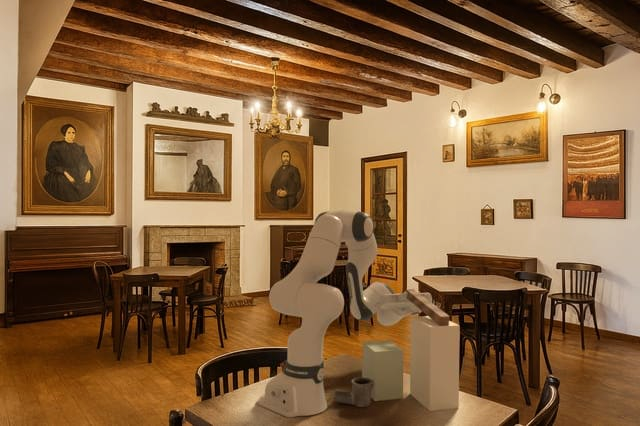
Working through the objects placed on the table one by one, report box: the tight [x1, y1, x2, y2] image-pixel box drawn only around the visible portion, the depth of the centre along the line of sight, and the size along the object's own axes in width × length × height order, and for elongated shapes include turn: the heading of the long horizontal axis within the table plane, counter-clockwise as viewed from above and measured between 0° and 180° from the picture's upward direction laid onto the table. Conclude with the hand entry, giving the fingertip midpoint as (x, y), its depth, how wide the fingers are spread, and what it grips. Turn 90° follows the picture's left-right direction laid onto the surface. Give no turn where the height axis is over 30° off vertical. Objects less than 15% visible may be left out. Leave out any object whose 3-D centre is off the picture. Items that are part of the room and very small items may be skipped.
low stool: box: [361, 339, 404, 402], centre depth 157 cm, size 12×10×16 cm
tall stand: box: [409, 315, 461, 412], centre depth 150 cm, size 14×10×26 cm
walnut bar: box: [405, 288, 450, 326], centre depth 156 cm, size 26×3×3 cm, turn 14°
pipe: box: [333, 376, 374, 408], centre depth 146 cm, size 6×13×8 cm, turn 81°
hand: (412, 293), depth 166 cm, fingers closed on walnut bar, 3 cm apart
